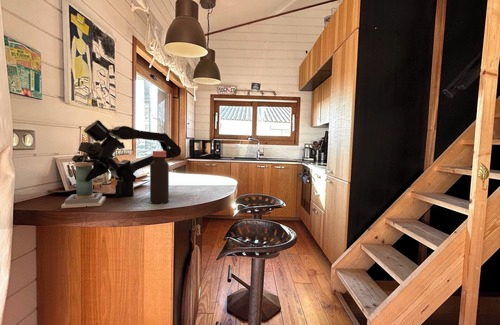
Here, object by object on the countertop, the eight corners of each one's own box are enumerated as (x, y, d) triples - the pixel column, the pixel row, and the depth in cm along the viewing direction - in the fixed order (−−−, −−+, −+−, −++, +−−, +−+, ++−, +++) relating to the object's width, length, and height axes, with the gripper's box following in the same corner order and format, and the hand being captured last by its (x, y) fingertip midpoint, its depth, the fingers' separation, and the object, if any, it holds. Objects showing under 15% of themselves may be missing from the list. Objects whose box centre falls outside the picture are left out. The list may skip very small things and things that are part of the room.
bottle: (149, 204, 96) (149, 151, 94) (151, 200, 102) (151, 150, 101) (168, 203, 97) (168, 151, 96) (168, 199, 104) (169, 150, 102)
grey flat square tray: (105, 198, 103) (105, 192, 103) (100, 205, 92) (100, 198, 92) (70, 200, 98) (70, 194, 98) (61, 208, 88) (61, 200, 88)
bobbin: (88, 195, 99) (87, 161, 98) (97, 197, 96) (96, 162, 95) (71, 198, 94) (70, 162, 93) (80, 200, 91) (79, 163, 90)
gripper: (75, 134, 100) (46, 164, 91) (111, 135, 94) (83, 167, 84) (94, 153, 108) (69, 183, 99) (128, 155, 102) (105, 187, 92)
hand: (80, 180), depth 93 cm, fingers closed on bobbin, 5 cm apart
